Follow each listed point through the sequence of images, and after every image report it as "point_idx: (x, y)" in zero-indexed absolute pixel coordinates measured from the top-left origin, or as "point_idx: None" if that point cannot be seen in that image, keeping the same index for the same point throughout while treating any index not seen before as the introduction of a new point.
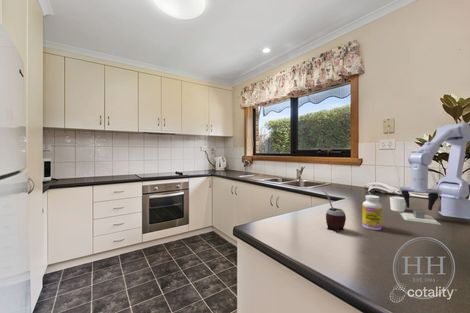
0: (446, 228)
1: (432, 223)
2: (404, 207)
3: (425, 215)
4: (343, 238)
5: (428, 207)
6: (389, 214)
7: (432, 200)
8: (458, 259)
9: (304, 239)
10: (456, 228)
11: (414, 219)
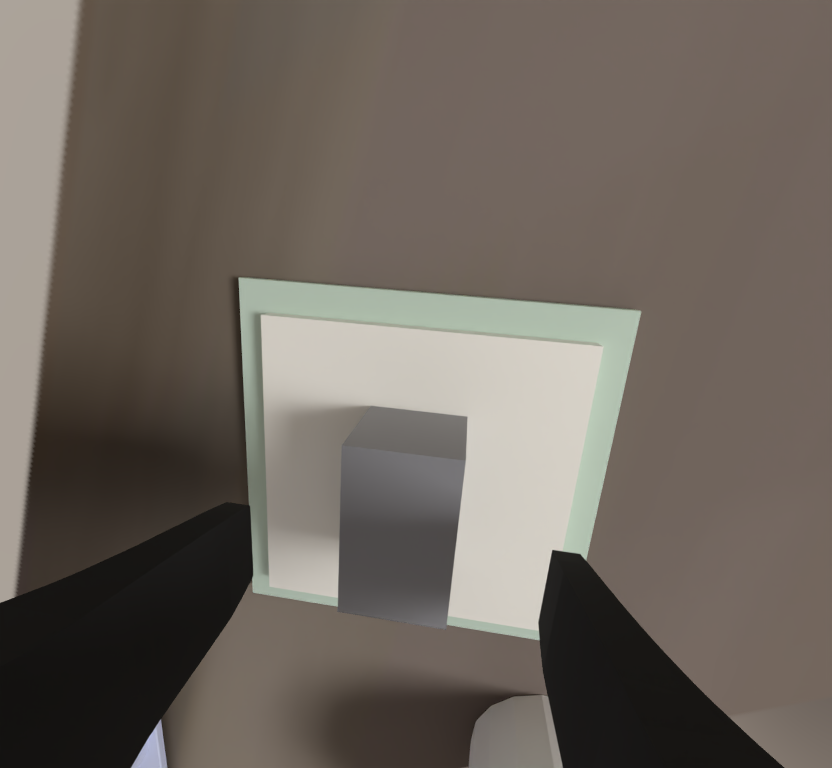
0: (217, 179)
1: (322, 283)
2: None
3: (313, 581)
4: None
5: (234, 591)
6: (715, 572)
7: (15, 634)
8: None
9: None
10: (122, 241)
11: (506, 338)
